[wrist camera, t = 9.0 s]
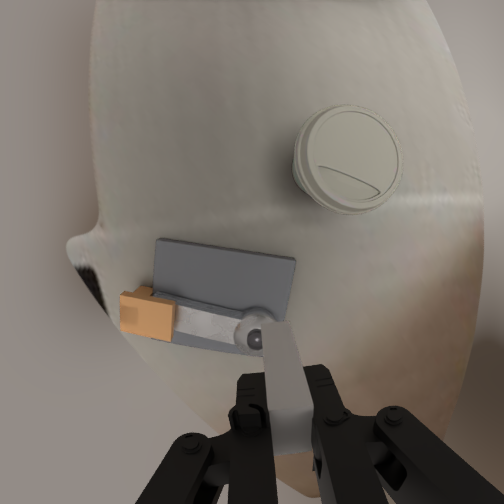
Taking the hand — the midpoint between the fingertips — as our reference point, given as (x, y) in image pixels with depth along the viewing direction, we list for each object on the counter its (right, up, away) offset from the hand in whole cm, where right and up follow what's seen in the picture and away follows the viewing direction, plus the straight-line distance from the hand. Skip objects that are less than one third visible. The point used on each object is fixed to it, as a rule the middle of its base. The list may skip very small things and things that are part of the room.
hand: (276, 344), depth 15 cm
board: (-5, 0, +17) cm, 18 cm away
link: (-5, -2, +16) cm, 17 cm away
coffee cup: (+6, +14, +15) cm, 21 cm away
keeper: (-12, 0, +17) cm, 21 cm away
